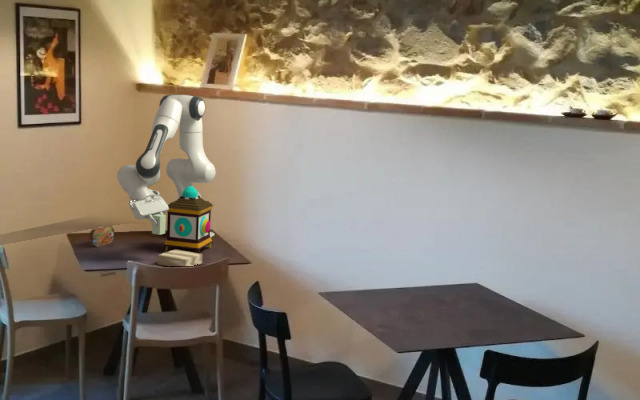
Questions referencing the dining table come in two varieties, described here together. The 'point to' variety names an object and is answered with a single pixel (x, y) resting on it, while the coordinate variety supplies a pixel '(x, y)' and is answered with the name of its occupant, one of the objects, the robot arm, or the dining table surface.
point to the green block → (159, 224)
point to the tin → (101, 236)
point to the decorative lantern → (189, 222)
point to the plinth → (179, 258)
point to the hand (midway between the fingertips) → (160, 223)
